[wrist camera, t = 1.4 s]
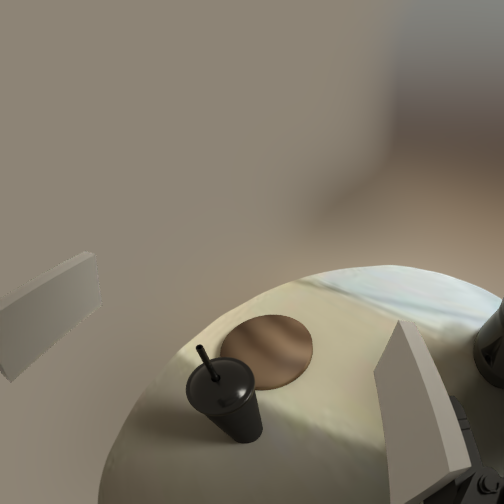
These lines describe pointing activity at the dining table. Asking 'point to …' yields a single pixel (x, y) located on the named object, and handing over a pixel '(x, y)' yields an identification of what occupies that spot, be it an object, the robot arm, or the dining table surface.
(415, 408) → the robot arm
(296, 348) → the coaster board
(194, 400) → the drinking cup
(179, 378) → the dining table surface
